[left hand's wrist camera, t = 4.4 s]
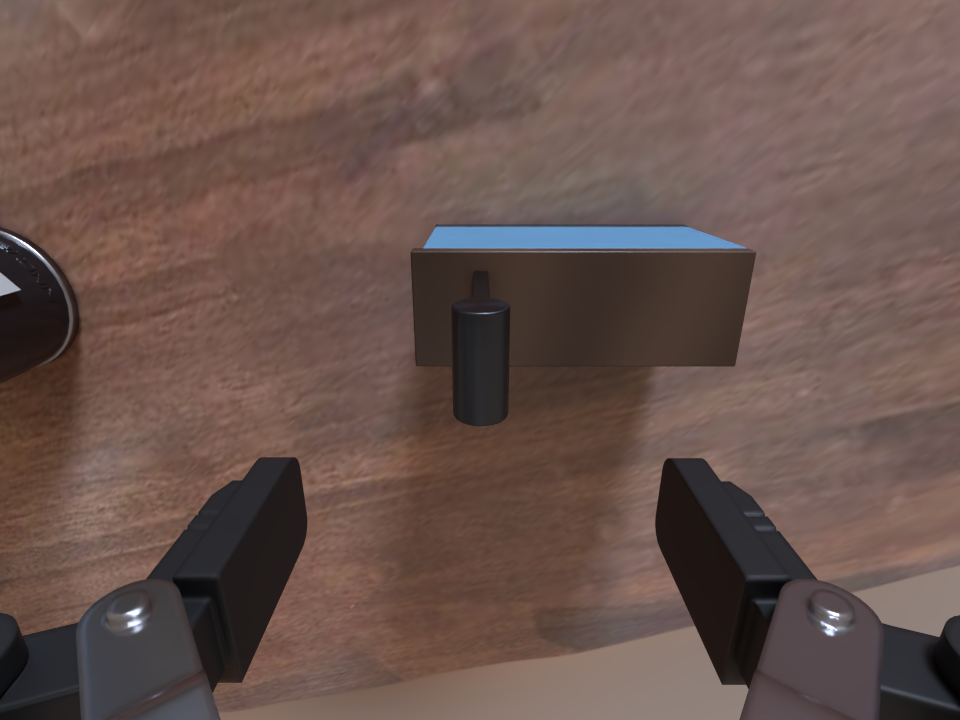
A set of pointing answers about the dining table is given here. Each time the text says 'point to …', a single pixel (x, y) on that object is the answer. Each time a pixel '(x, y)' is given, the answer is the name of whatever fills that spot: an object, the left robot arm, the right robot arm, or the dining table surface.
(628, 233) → the chest
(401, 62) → the dining table surface
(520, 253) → the lid
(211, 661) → the left robot arm
